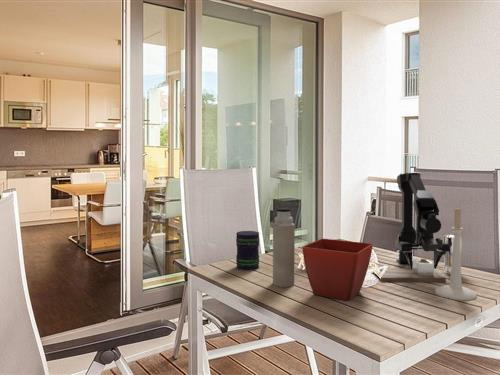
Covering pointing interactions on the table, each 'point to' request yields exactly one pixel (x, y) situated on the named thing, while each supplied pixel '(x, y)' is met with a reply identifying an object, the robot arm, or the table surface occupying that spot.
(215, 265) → the table surface
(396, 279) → the board
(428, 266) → the white small box
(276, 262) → the thermos bottle
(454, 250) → the candlestick
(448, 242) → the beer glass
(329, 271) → the plant pot
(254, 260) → the storage jar
